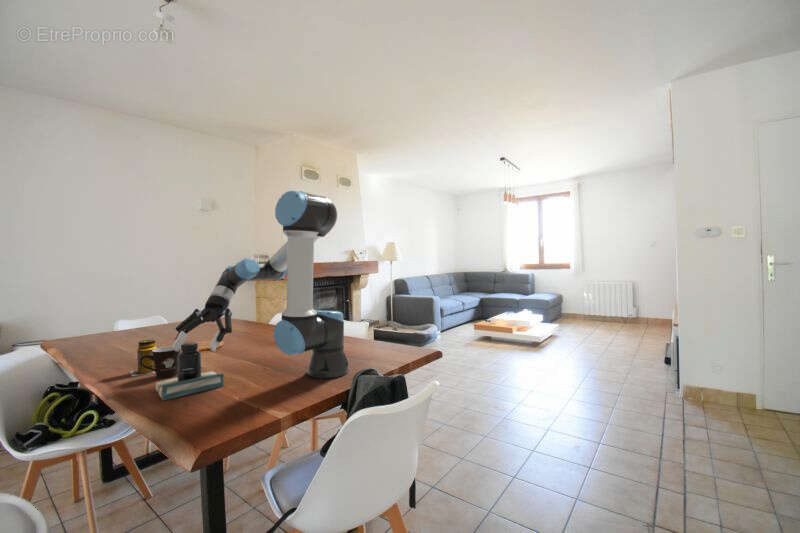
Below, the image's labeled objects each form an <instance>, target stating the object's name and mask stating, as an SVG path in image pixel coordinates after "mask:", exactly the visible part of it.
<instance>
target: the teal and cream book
mask: <svg viewBox="0 0 800 533" xmlns="http://www.w3.org/2000/svg"><path fill="white" fill-rule="evenodd" d="M221 387H224V372H220V373H217V372H215V371H214V370H209V371H204V372H201V377H199V378H194V379H190V380H185V381H180V382H178V380H177V377H172V378H170V379H169V378H167V379H163V380H159V381H155V390H156V392H157V394H158V395H159V397H160V398H161V400H162V401H166V400H171V399H175V398H178V397H183V396H184V397H185V396H187V395H192V394H195V393H196V394H197V393H201V392H204V391H205V392H206V391H209V390H214V389H218V388H221Z"/></svg>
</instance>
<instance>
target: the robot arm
mask: <svg viewBox="0 0 800 533" xmlns="http://www.w3.org/2000/svg"><path fill="white" fill-rule="evenodd" d="M274 212H275V213H274V214H275V216H274V217H275V219H276V220H277V222H278V224H280V225H281V226H282V233H283V234H284V235H285V236H286V238H287V241H286V242H285V243H284V244H283V245H281V247H280V248H279V249H278V250H277V251H276V252H275V253H274V254H273V255H272V256H271V257H270V258H269V259H268V260H267V261H257V260H255V259H253V258H251V257H247V258H246V257H245V258H243V259H241V260H240V261H239V262H237V263H236V264H235V265H232V266H230V265H229V266H227V267H225V269H224V270H223V271H222V273H221V275H220V277H219V279H218V281H217V283H216V285H215V286H214V288H213V290H212V291H211V293H210V295H209V297H208V298H207V300H206V302H205V304H204V308H203V309H202V310H199V309H198V308H195V309H194V310H193V312H192V313H191V314H190V315H189V316H187V318H185V319H184V320H183V321H182V322H181V323H179V325H177V326H176V327H175V328H174V329H175V331H176V332H178V334H176V337H175V338H174V340H175V341H174V343H173V344H172V345H171V346H172V348H173V349H174V350H175V351H179V349H180V350H181V345H182V344H184V342H185V340H186V339H187V336H188V335H187V334H188V333H189V332H191V331H192V330H194V329H196V327H198V326H200V325H201V324H205V323H214V322H216V325H217V327H218V330H217V331H216V332H215V334H214V337H213V339H212V341H211V343H210V344H209V346H208V348H209V349H210V351H212V352H216V350H217V348H218V346H219V344H220V343H221V342H222V341H223V340H224V337H225V335H226V334H231V333H233V328H232V315H233V313H232V310H231V309H230V308H229V306H230V304H231V301H232V300H233V298H234V296H235V294H236V292H237V290H238V288H239V287H241V286H242V285H244V284H245V283H247V282H255V281H271V280H272V281H278V280H282V279H284V278H285V277H286V308H285V310H283V312H281V320H280V321H278V322H277V323H276V324H275V326H274V328H273V339H274V342H275V344H276V345H275V346H277V347H278V349H279V350H280V351H281V352H282V353H283V354H285V355H288V356H294V355H300V354H303V353H305V352H309V351H311V356H310V359H309V362H308V365H307V375H308V376H309V377H310V378H314V379H332V378H333V379H335V378H338V377H342V376H344V375H347V374H348V373H349V372H350V365H349V361H348V358H347V356H346V352H345V344H344V343H345V338H344V337H345V336H344V335H345V333H344V331H345V328H344V326H345V325H344V324H345V321H344V315H343V314H344V313H342V312H341V311H338V310H337V311H336V310H315V309H314V308H313V307H314V256H315V253H314V252H315V247H314V246H315V242H316V241H317V240H318V239H320V238H324V237H325V236H326V235H327V234H329V233H330V232H331V231H332V229H333V228H334V226H335V225H336V222H337V220H338V212H337V207H336V206H335V203H334V202H332V201H331V199H329V198H327V197H326V196H323V195H318V194H313V193H309V192H304V191H297V190H288V191H285V192H284V193H283V194H282V195H281V196H280V198H279V199H278V200H277V202H276V204H275V209H274ZM223 316H224V324H223V322H222V319H221V318H222V317H223ZM224 325H225V326H224Z"/></svg>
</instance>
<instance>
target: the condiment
mask: <svg viewBox="0 0 800 533" xmlns="http://www.w3.org/2000/svg"><path fill="white" fill-rule="evenodd" d="M137 343H138V346H137V347H138V348H137V355H136V356H137V370H133V371H129V374H130V376H131V377H137V376H142V375H149V374H156V372H155V371H153V370H150V369H148V368H145V367H143V366H142V365H141V364H140V359H141V358H142V357H143V356H146V355H151V356H153V352H152V350H154V349H157V348H158V347H157V346H156V340H155V339H145V340H140V341H138V342H137ZM142 364H143V365H145V366H147V367H150V368H153V369H155V365H154V361H153V360H152V358H150V357H145V358H143V359H142Z"/></svg>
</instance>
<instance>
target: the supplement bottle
mask: <svg viewBox="0 0 800 533" xmlns="http://www.w3.org/2000/svg"><path fill="white" fill-rule="evenodd" d="M198 349H199V346H198V342H187V343H183V344H182V345H181V347H180V353H179V355H178V357H177V375H176V376H177V377H176V378H177V380H178V382H180V381H185V380H190V379H194V378H199V377H201V373H202V353H201V351H200V350H198Z"/></svg>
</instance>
